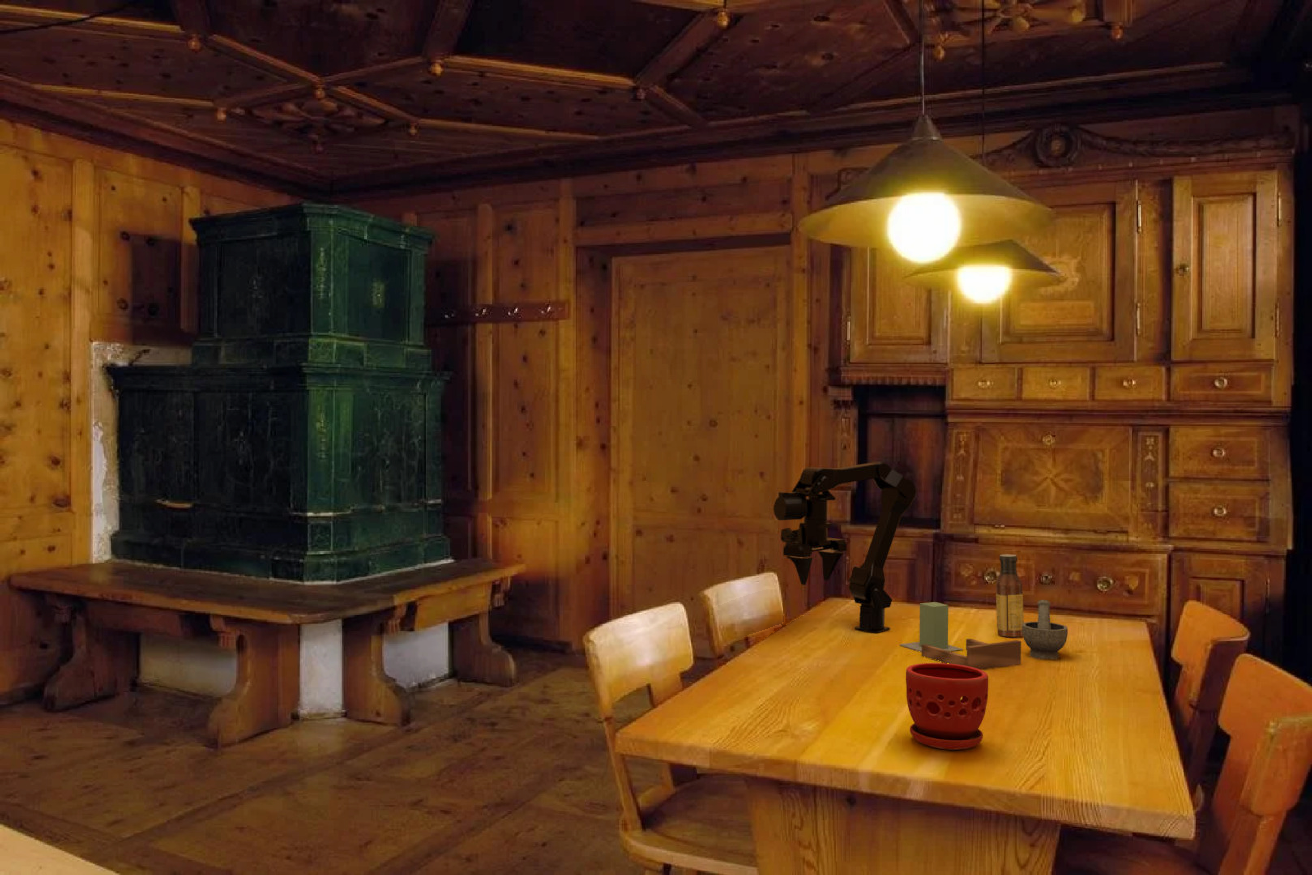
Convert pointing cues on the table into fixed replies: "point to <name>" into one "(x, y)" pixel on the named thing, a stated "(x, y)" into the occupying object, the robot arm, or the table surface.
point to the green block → (934, 625)
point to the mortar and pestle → (1044, 634)
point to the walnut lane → (979, 654)
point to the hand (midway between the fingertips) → (814, 582)
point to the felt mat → (916, 647)
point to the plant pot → (946, 704)
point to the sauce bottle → (1009, 598)
